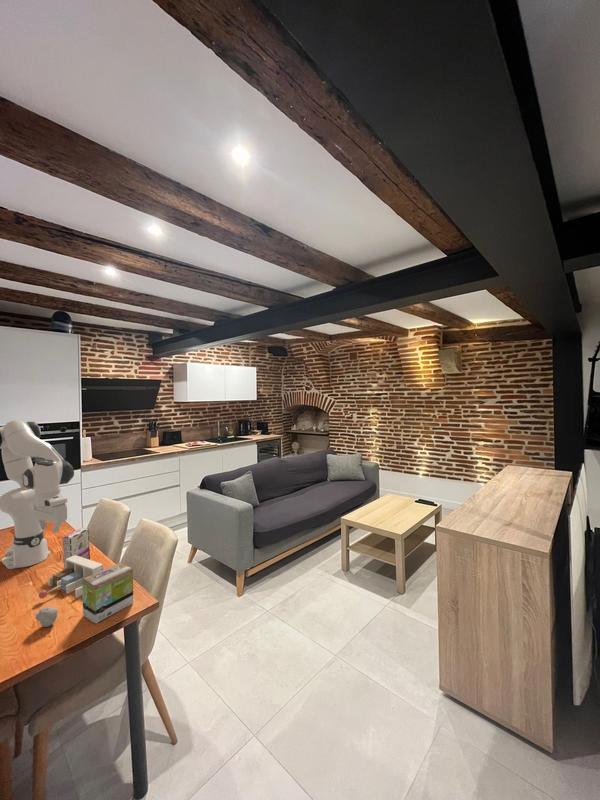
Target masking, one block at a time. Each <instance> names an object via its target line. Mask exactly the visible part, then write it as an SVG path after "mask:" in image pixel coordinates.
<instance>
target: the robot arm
mask: <svg viewBox="0 0 600 800" xmlns="http://www.w3.org/2000/svg"><path fill="white" fill-rule="evenodd" d="M40 438H41V428H40V426H39V425H38V423H36V421H26V422H24V421H23V420H20V419H16V420H15V419H14V420H11V421H10V420H9V422H6V423H5V425H4V426H3V425H2V426H0V449H1V458H2V459H1V460H2V463H3V466H4V471H5V473H6V477H7V479H8V480H10V481H13V482H16V483H17V484H18V485H19V487H18V488H15V489H12V490H9V491H8V492H5V493H4V494H2V495H0V511H1V512H2V513H5V514H7V515H9V516H10V517H11V519H12V521H13V525H14V536H13V541H12V542H13V543H12V544H11V545H10V546H8V548H7V549H6V550H7V551H6V552H5V553H4V556H5V557H3V558H1V560H0V561H2V562H1V563H2V564H3V565H4V566H5V568H6V569H7V570H13V569H19V568H26V567H30V566H33V565H36V564H39V563H42V562H43V561H44V560H46V559H47V558H48V557H49V556H50V554H51V550H49V548H48V542H47V539H46V538H45V537H44V536H45V533H44V530H46V529H47V528H48V526H47V524H46V522H47V523H52V524H53V528H52V533H54V534H57V533H59V532H60V527H61V524H63V523H66V521H67V519H68V507H67V504H66V503H68V497H66V496H65V495H64V494H63V493H62V492H61V485H65V484H68V483H69V482H70V481H71V480H72V479H73V477H74V476H75V470H74V467H73V465H72V464H71V463H69V462H68V461H67V460H65V458H64V457H62V455H61V454H60V453H59V452H58V451H57V450H56V448H54V447H53V446H52V444H51V443H49V442H47V441H44V440H43V439H40ZM31 457H33V458H41V460H38V461H36V462H35V463H33V461H32V458H31Z"/></svg>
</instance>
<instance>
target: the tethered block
mask: <svg viewBox="0 0 600 800" xmlns="http://www.w3.org/2000/svg"><path fill="white" fill-rule="evenodd" d="M80 578H81V574H80V573H77V572H74V573H72V574H69V575H67V576H65V577H63V578H61V585H59V586H57V587H55V586H54V587H53V588H51V589H48V590H44V589H43V590H41V591H39V593H38V598H39V599H45V598H47V596H48V594H49V593H51V592H54V591H55V590H57V588H59V587H61V586H62V589H61V590H62V591H64V592H66V585H68V584H70V583H72V582H74V581H76V580H78V579H80Z"/></svg>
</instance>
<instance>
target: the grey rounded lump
mask: <svg viewBox="0 0 600 800" xmlns="http://www.w3.org/2000/svg"><path fill="white" fill-rule="evenodd" d="M58 612H59V609H58V608H56V607H49V606H45V607H41V608H39V610H38V612H37V613H36V614H35V615H34V616H35V620H36V621H37V622H39V624H40V626H41V627H45V628H46V627H50V626H52V625H53V624H54V623H55V622H56V620H57V618H58Z"/></svg>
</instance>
